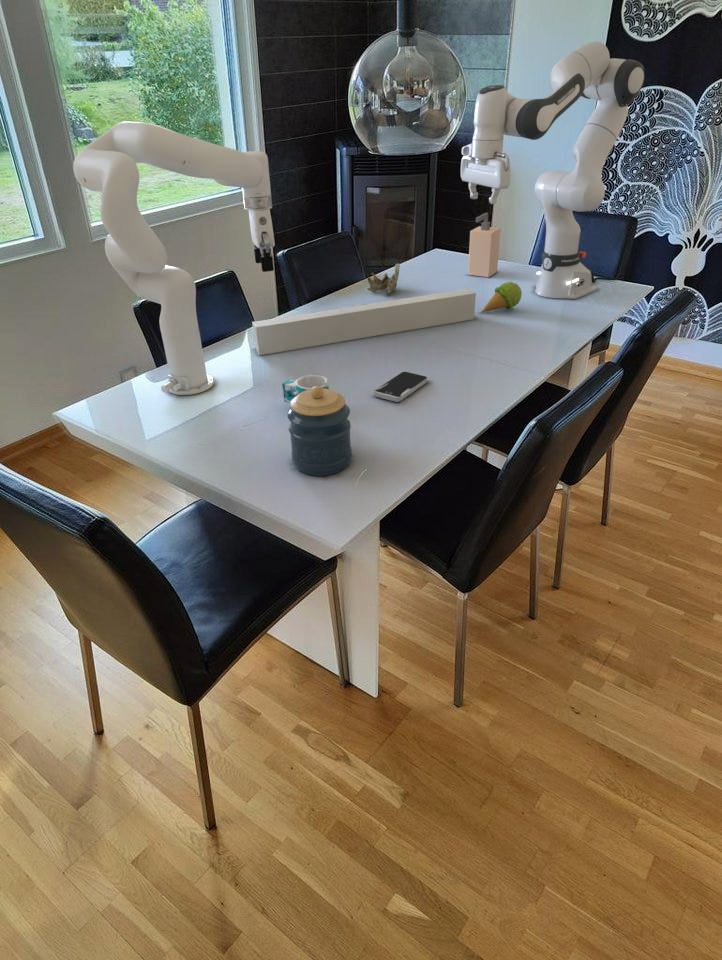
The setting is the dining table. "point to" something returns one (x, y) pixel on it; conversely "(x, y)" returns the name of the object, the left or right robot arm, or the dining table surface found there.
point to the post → (362, 321)
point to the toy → (504, 297)
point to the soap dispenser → (483, 248)
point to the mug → (302, 386)
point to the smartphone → (400, 386)
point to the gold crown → (384, 281)
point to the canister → (320, 432)
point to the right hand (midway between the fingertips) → (483, 201)
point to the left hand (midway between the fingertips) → (264, 266)
